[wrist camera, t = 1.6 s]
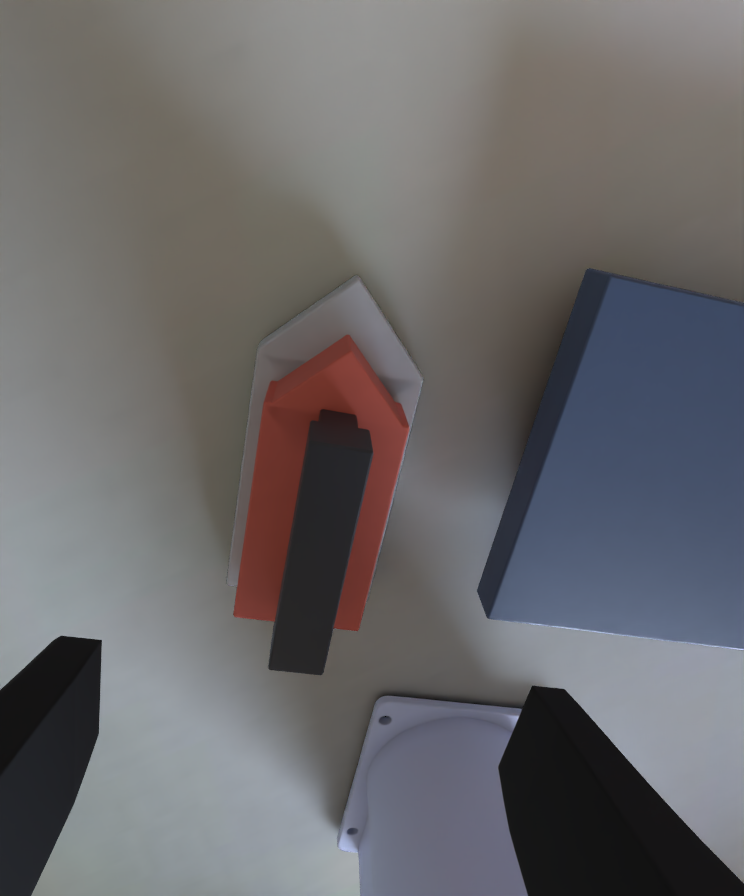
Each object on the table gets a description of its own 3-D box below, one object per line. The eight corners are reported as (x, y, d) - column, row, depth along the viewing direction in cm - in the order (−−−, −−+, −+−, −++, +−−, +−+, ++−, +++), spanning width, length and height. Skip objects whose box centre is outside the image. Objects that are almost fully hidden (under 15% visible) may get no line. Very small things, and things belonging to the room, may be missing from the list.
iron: (366, 586, 21) (378, 709, 16) (229, 568, 21) (197, 691, 15) (439, 291, 17) (486, 332, 12) (271, 256, 16) (246, 284, 11)
